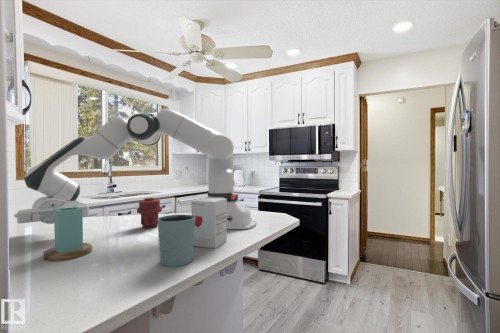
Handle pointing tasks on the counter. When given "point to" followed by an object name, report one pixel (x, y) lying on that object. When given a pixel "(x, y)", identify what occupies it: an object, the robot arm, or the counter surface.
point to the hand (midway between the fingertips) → (59, 216)
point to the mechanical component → (149, 212)
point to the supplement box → (210, 221)
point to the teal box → (68, 229)
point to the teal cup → (176, 239)
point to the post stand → (67, 253)
